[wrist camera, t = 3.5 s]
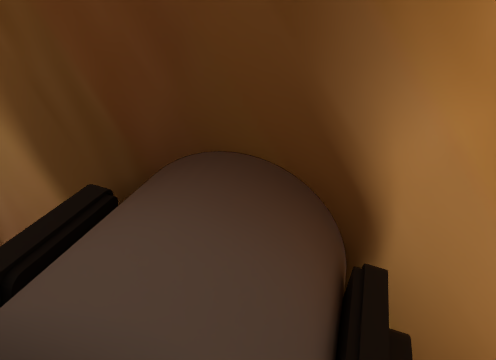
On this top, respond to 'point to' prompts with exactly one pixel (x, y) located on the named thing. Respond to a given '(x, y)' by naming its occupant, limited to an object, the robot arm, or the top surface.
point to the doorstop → (192, 273)
